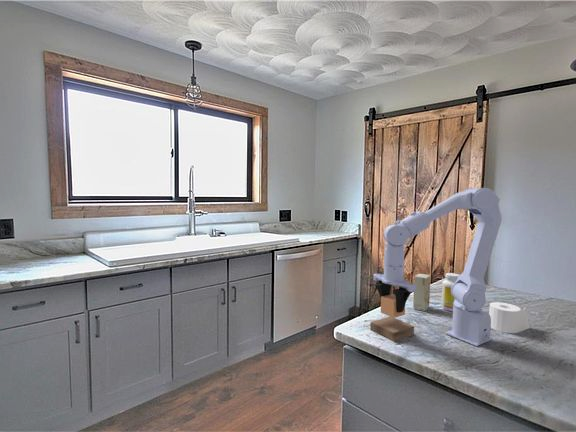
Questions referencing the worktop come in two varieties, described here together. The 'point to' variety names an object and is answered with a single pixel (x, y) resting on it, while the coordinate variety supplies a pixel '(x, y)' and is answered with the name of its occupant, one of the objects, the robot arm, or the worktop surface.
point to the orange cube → (390, 306)
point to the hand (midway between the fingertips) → (392, 308)
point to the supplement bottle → (448, 291)
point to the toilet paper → (508, 318)
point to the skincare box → (421, 292)
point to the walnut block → (392, 328)
